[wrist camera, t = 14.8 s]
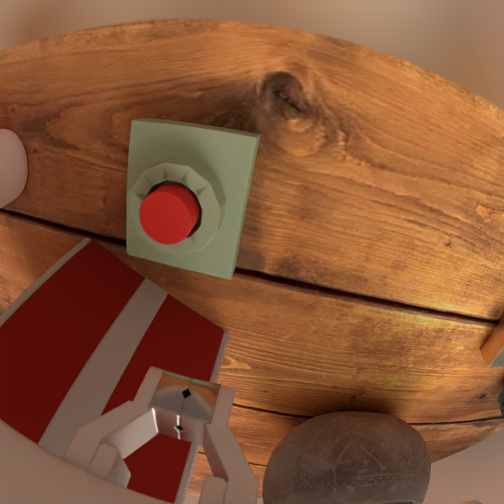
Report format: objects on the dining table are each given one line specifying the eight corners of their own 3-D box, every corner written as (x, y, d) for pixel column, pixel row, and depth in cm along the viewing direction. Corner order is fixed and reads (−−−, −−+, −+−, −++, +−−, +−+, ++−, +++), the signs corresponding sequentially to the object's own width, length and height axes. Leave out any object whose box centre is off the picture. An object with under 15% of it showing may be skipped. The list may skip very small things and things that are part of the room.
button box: (144, 117, 21) (117, 122, 17) (260, 134, 20) (253, 140, 17) (137, 243, 26) (116, 265, 22) (235, 266, 26) (226, 293, 22)
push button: (151, 179, 19) (139, 187, 18) (202, 188, 19) (194, 197, 17) (148, 228, 21) (138, 238, 19) (196, 238, 21) (188, 250, 19)
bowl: (272, 453, 42) (262, 532, 29) (266, 381, 32) (248, 504, 19) (395, 447, 39) (402, 523, 25) (438, 371, 29) (469, 479, 16)
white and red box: (85, 232, 26) (-108, 450, 2) (233, 334, 29) (160, 615, 6) (58, 323, 33) (-46, 477, 10) (167, 395, 37) (104, 570, 13)
